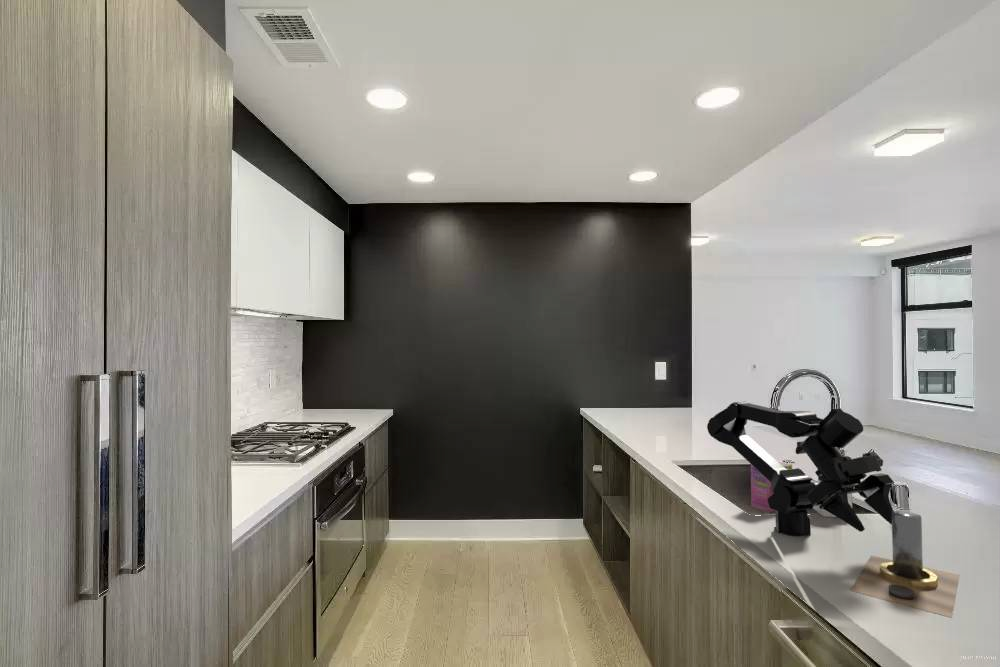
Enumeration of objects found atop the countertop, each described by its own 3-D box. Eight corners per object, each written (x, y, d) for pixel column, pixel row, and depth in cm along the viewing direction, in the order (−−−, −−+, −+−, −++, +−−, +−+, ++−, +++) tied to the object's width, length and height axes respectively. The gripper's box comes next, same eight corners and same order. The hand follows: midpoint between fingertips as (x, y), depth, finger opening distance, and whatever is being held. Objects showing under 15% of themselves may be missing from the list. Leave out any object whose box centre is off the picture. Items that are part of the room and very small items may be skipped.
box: (769, 513, 140) (768, 468, 140) (750, 507, 145) (749, 464, 146) (794, 506, 145) (792, 464, 145) (774, 501, 150) (773, 460, 150)
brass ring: (891, 585, 97) (891, 578, 97) (873, 566, 105) (873, 560, 105) (946, 591, 94) (946, 584, 94) (923, 571, 102) (923, 564, 102)
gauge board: (951, 622, 85) (951, 611, 85) (850, 594, 95) (849, 584, 95) (959, 579, 100) (959, 569, 100) (871, 559, 110) (870, 550, 110)
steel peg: (890, 577, 100) (888, 514, 100) (896, 570, 103) (894, 509, 103) (920, 585, 96) (918, 520, 96) (925, 578, 99) (923, 514, 99)
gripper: (819, 442, 107) (874, 513, 96) (884, 435, 113) (942, 502, 102) (787, 471, 114) (835, 541, 104) (849, 464, 120) (901, 528, 109)
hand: (879, 527), depth 104 cm, fingers open, 9 cm apart
